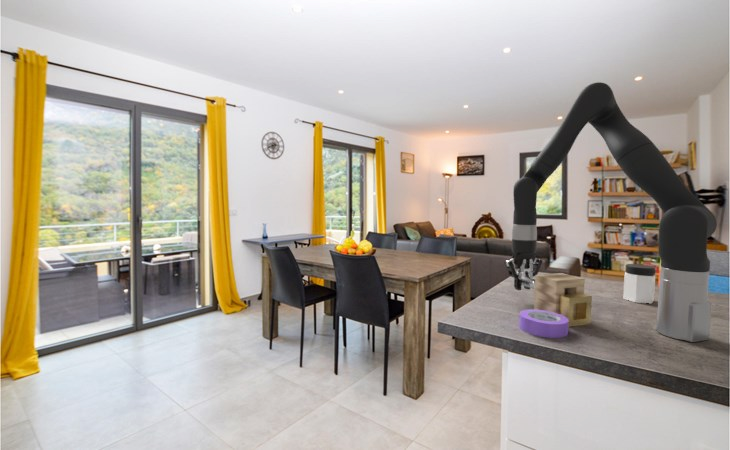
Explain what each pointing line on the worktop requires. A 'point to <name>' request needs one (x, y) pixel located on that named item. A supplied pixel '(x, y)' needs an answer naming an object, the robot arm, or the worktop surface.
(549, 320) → the masking tape
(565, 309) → the block
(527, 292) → the worktop surface
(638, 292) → the jar
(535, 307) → the tan wooden block
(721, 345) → the worktop surface
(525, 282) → the shaft
